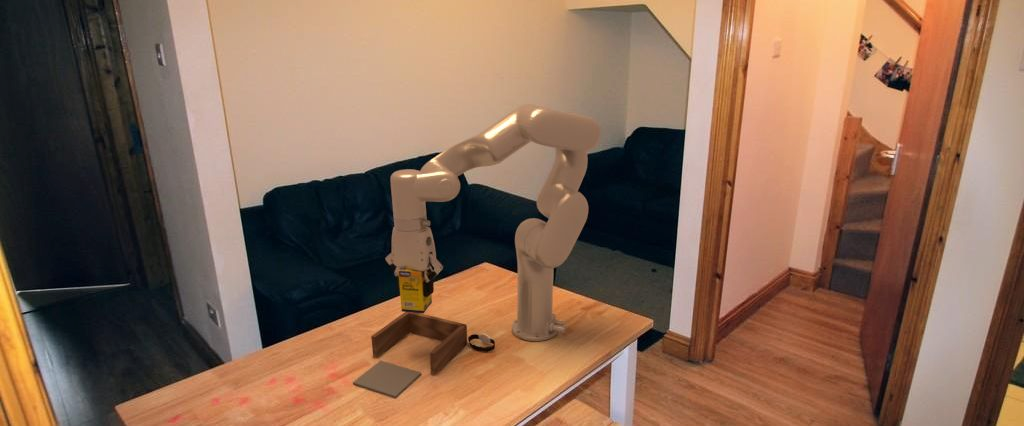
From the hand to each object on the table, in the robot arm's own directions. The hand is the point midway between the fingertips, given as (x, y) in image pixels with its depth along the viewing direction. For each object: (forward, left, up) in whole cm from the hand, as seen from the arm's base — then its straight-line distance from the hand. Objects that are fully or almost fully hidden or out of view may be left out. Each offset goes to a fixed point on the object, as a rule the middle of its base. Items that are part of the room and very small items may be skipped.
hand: (415, 291), depth 130 cm
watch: (-13, -10, -18) cm, 24 cm away
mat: (0, +12, -17) cm, 21 cm away
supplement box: (0, 0, -5) cm, 5 cm away
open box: (0, -1, -17) cm, 17 cm away
